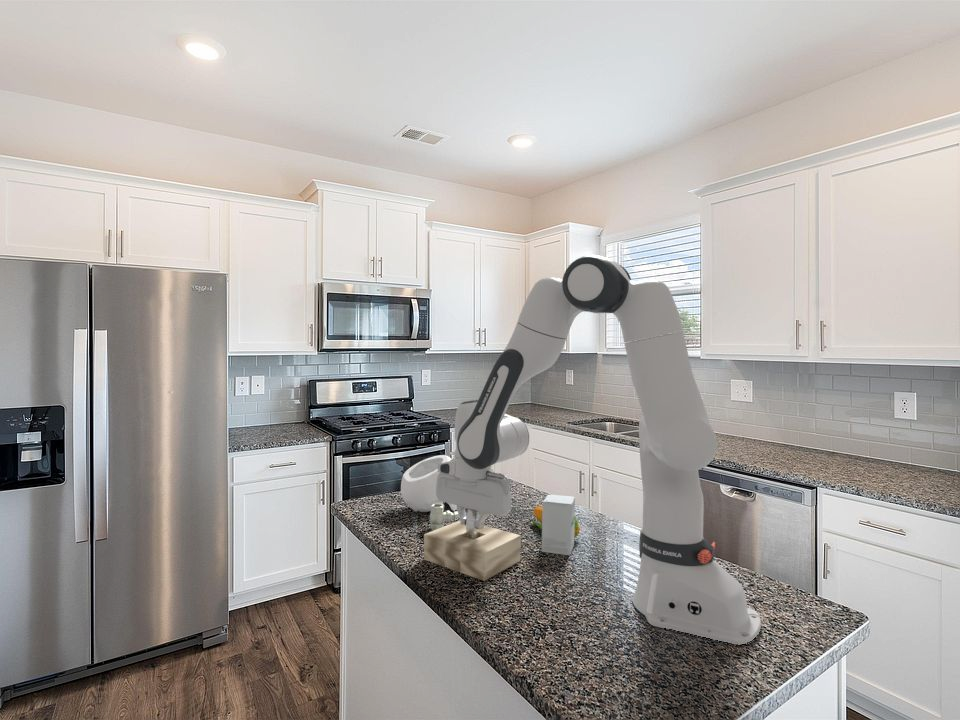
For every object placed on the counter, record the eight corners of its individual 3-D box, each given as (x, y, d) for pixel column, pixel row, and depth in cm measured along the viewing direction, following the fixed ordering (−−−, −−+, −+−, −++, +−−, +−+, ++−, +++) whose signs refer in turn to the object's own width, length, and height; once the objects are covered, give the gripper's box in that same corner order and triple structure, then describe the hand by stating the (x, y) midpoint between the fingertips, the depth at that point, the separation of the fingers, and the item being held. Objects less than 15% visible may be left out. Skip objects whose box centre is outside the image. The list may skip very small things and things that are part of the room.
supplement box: (571, 556, 126) (571, 504, 126) (540, 552, 128) (541, 501, 128) (575, 545, 133) (575, 496, 133) (546, 541, 135) (547, 493, 135)
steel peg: (480, 548, 123) (482, 505, 123) (472, 551, 121) (474, 508, 121) (470, 545, 125) (472, 503, 125) (462, 548, 123) (464, 505, 123)
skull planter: (484, 502, 163) (459, 451, 158) (432, 542, 154) (404, 489, 150) (463, 492, 175) (440, 444, 170) (414, 528, 166) (388, 479, 161)
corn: (564, 516, 132) (523, 496, 150) (562, 546, 132) (521, 522, 150) (587, 514, 135) (545, 495, 153) (585, 544, 135) (543, 521, 153)
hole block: (520, 560, 123) (520, 535, 123) (484, 580, 112) (484, 553, 112) (462, 542, 134) (462, 519, 134) (423, 559, 123) (424, 534, 123)
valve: (433, 534, 141) (474, 528, 145) (433, 509, 141) (474, 504, 145) (426, 526, 147) (465, 521, 152) (426, 503, 147) (466, 498, 151)
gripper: (517, 472, 119) (516, 532, 119) (449, 460, 131) (448, 514, 132) (501, 477, 114) (500, 540, 114) (432, 464, 126) (431, 520, 127)
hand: (472, 526), depth 123 cm, fingers closed on steel peg, 3 cm apart
